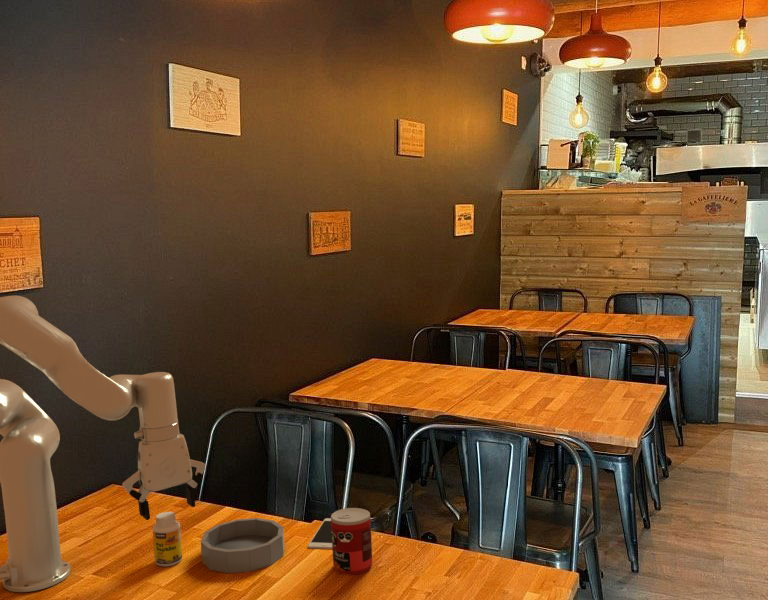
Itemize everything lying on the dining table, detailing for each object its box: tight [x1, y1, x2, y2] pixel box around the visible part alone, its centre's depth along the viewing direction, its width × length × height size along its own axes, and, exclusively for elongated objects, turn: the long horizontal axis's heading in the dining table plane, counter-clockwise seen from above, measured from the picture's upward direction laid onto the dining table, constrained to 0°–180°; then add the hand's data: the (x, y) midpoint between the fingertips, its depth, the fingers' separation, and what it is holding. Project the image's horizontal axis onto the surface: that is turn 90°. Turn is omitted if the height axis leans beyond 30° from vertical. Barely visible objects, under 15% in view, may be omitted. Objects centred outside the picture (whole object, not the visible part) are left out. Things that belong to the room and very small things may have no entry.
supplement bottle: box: [152, 511, 183, 568], centre depth 159 cm, size 6×6×10 cm
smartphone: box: [307, 517, 332, 550], centre depth 171 cm, size 7×15×1 cm, turn 170°
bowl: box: [200, 517, 286, 574], centre depth 162 cm, size 17×17×4 cm
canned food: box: [330, 507, 373, 576], centre depth 153 cm, size 8×8×11 cm
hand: (169, 511), depth 159 cm, fingers open, 9 cm apart
